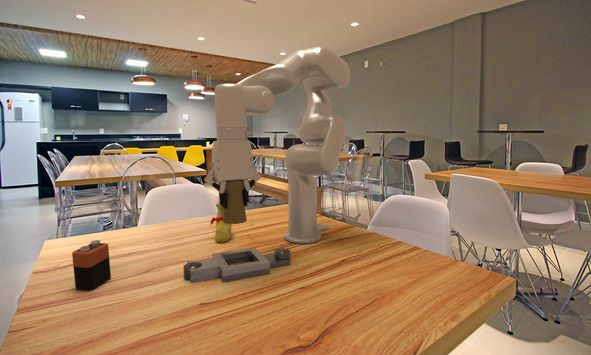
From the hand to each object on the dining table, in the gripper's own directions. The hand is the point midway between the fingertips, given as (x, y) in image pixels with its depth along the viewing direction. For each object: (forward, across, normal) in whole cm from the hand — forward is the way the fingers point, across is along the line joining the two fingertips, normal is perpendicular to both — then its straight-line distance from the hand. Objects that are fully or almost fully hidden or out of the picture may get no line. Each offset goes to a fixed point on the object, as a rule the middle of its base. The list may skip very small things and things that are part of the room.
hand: (234, 205), depth 86 cm
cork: (+4, 0, 0) cm, 4 cm away
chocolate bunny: (+17, -1, -26) cm, 31 cm away
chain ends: (+17, -1, +1) cm, 17 cm away
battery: (+17, +34, -4) cm, 38 cm away
